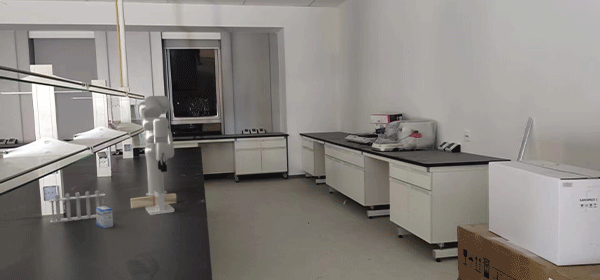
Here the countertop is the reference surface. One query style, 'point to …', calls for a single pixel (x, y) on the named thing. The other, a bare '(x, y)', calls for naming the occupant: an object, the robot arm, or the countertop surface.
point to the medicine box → (104, 217)
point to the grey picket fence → (76, 207)
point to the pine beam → (151, 201)
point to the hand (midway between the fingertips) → (162, 170)
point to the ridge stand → (159, 205)
